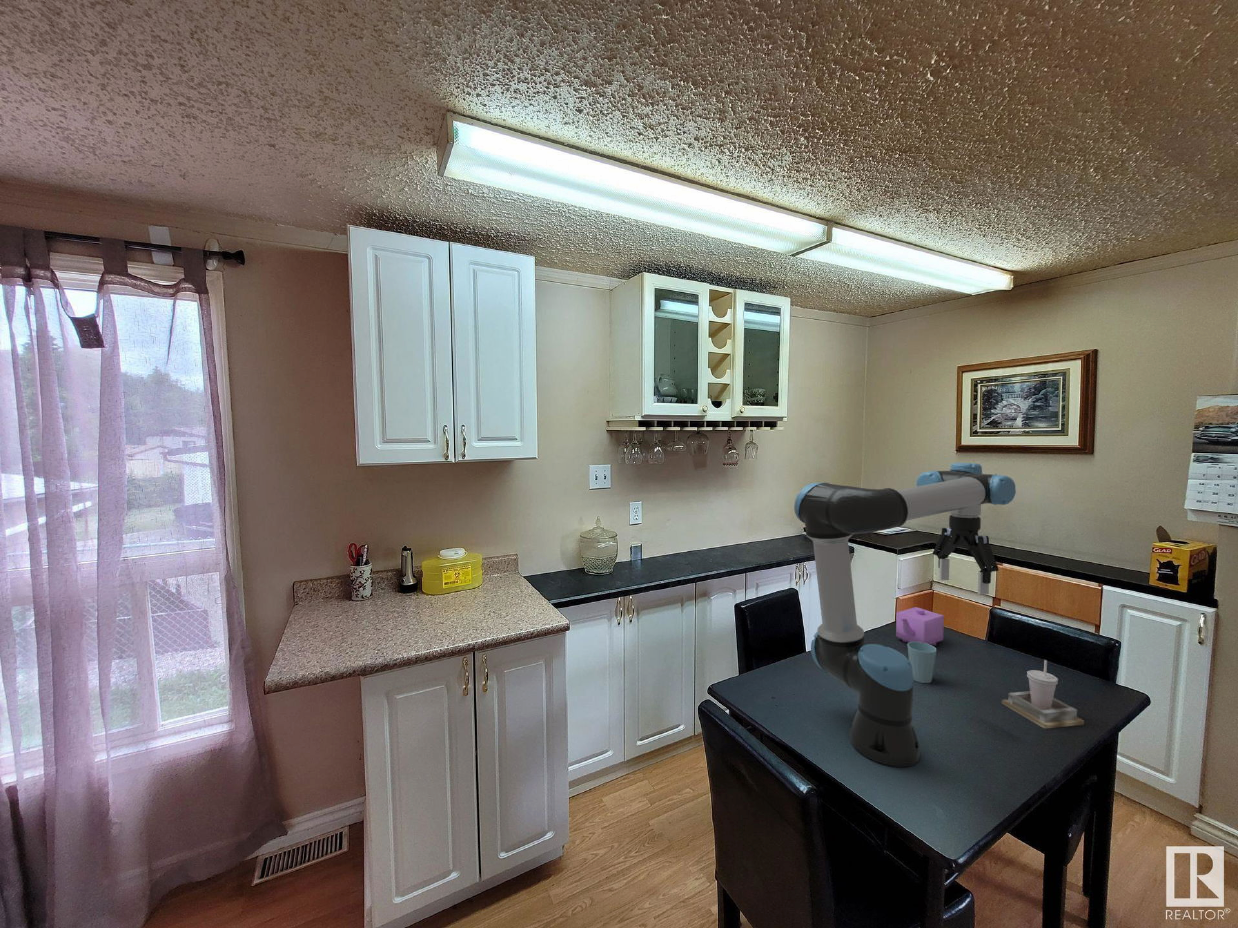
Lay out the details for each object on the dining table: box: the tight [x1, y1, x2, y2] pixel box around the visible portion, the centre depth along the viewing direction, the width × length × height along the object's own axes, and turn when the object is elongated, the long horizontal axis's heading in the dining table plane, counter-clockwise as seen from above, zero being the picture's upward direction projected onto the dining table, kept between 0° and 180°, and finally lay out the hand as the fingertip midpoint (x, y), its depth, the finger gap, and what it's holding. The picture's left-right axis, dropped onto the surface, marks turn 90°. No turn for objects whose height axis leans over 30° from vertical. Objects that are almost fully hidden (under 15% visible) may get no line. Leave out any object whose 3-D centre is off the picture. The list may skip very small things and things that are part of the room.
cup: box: [907, 642, 937, 684], centre depth 151 cm, size 8×8×10 cm
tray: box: [1001, 690, 1085, 729], centre depth 132 cm, size 12×12×4 cm
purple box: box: [895, 606, 945, 646], centre depth 176 cm, size 20×10×12 cm, turn 117°
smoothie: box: [1026, 659, 1059, 710], centre depth 131 cm, size 6×6×14 cm
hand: (962, 586), depth 142 cm, fingers open, 13 cm apart
